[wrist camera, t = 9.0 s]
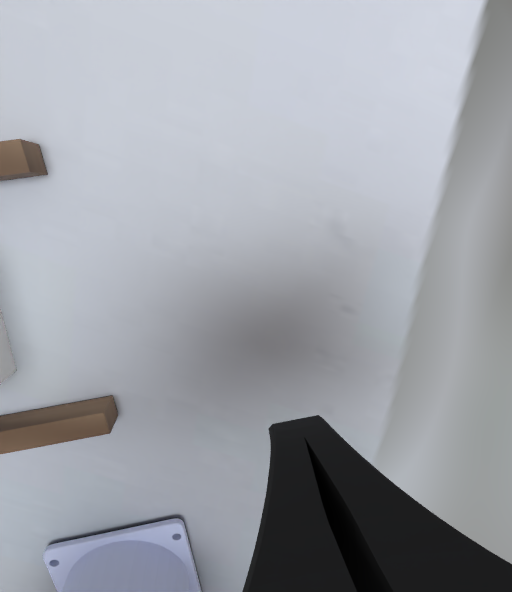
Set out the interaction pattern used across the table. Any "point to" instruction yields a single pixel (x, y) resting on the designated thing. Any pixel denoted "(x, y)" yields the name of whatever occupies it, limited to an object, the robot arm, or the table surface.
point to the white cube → (5, 353)
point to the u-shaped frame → (63, 418)
